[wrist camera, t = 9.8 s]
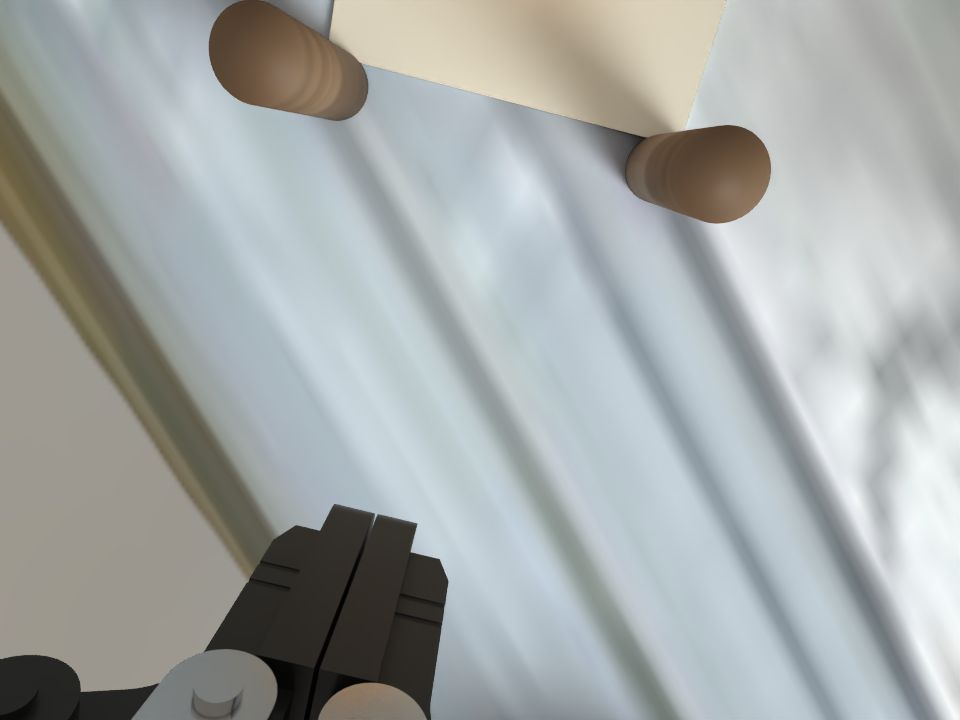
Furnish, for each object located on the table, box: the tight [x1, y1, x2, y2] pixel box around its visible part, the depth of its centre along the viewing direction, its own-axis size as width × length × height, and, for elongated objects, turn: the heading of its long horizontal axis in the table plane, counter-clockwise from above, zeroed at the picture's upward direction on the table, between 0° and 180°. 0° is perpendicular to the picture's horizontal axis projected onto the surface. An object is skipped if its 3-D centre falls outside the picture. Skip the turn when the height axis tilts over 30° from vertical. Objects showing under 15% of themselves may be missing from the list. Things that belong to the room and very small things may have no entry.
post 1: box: [209, 0, 368, 121], centre depth 21 cm, size 3×3×8 cm
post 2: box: [625, 125, 771, 223], centre depth 21 cm, size 3×3×8 cm
